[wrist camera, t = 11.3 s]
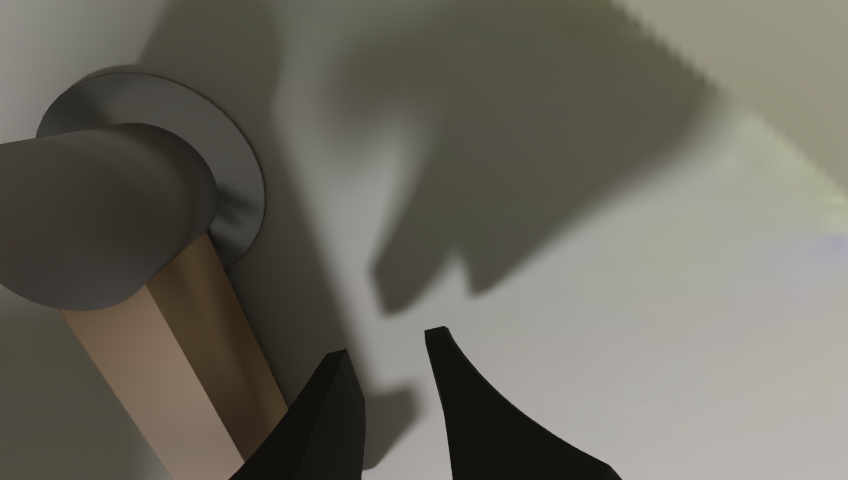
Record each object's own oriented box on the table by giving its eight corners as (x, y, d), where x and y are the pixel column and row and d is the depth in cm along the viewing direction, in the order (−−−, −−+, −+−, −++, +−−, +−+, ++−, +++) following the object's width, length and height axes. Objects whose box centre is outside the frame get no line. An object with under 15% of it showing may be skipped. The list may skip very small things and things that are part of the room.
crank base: (294, 254, 13) (293, 257, 12) (109, 298, 13) (105, 301, 12) (216, 49, 10) (213, 48, 10) (-10, 102, 10) (-16, 102, 10)
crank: (24, 146, 10) (-131, 175, 7) (210, 102, 10) (135, 112, 7) (245, 515, 16) (211, 620, 13) (365, 487, 16) (361, 584, 13)
